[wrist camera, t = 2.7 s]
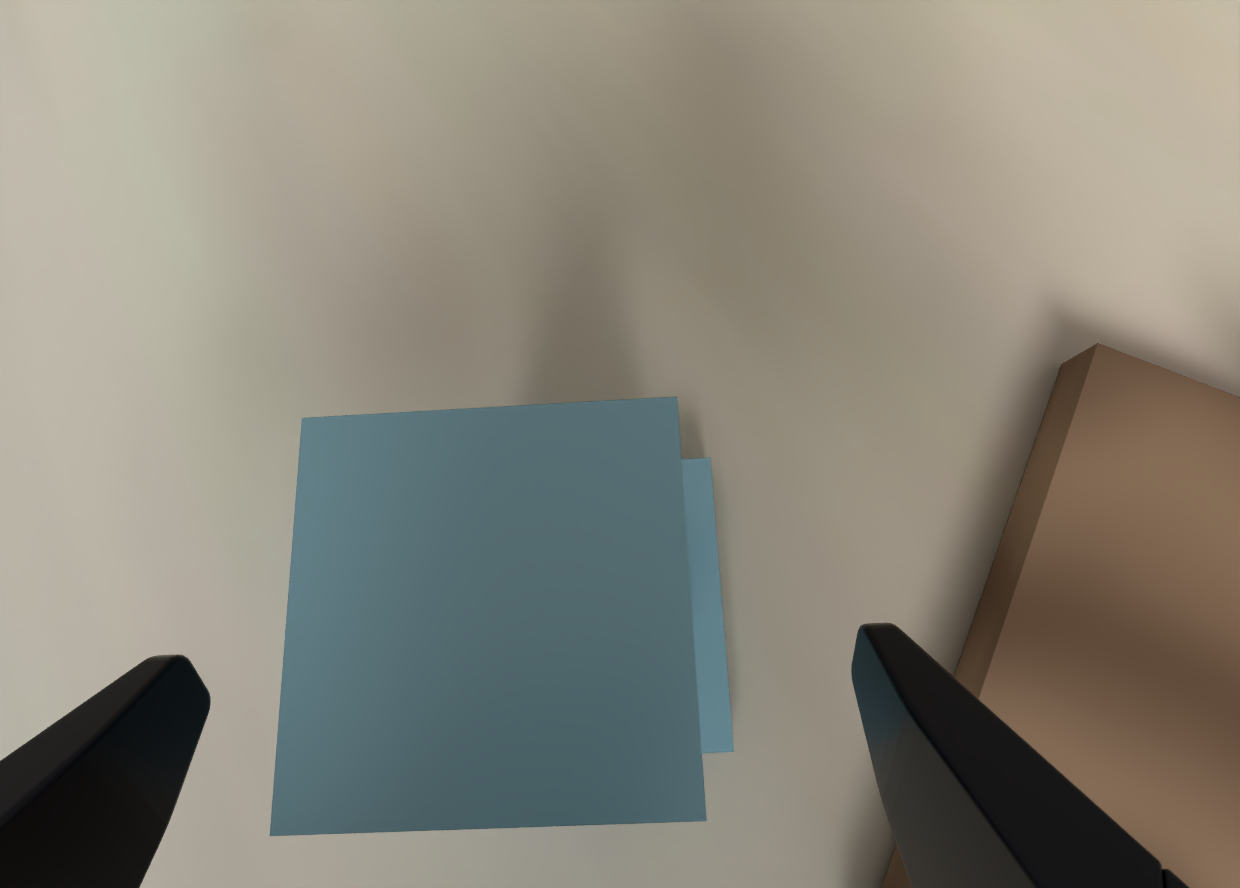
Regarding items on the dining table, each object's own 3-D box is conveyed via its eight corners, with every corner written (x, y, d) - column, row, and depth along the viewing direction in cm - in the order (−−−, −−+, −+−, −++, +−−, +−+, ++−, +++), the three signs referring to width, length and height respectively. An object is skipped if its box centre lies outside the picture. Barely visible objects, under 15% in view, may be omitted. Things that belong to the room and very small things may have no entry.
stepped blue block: (728, 741, 16) (856, 971, 6) (450, 751, 16) (127, 989, 6) (706, 467, 18) (778, 286, 8) (455, 480, 18) (206, 322, 8)
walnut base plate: (1417, 1266, 13) (1511, 1347, 12) (856, 959, 15) (878, 997, 14) (1537, 549, 16) (1623, 544, 15) (1061, 364, 18) (1097, 342, 17)
